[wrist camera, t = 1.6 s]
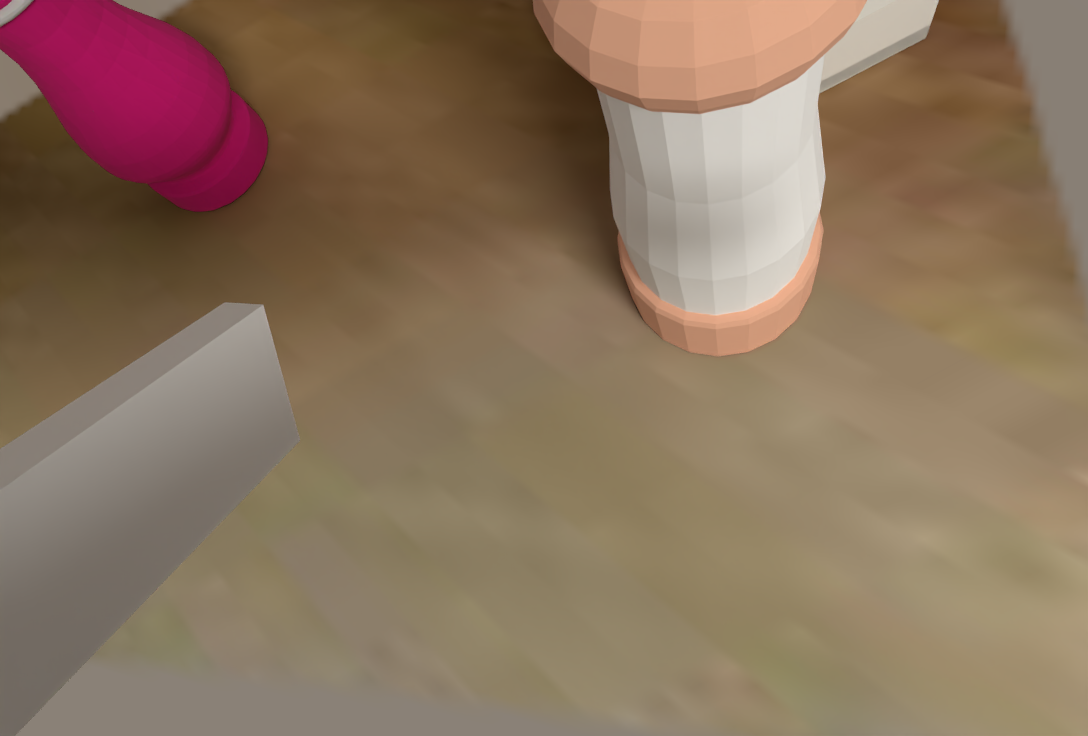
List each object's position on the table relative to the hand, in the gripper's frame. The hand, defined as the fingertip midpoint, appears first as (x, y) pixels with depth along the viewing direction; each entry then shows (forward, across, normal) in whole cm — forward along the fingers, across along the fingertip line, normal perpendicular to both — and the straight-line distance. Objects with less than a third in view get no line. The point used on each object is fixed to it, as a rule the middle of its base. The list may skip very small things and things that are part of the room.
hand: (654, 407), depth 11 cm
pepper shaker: (+20, 0, -6) cm, 20 cm away
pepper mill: (+23, -26, -2) cm, 35 cm away
